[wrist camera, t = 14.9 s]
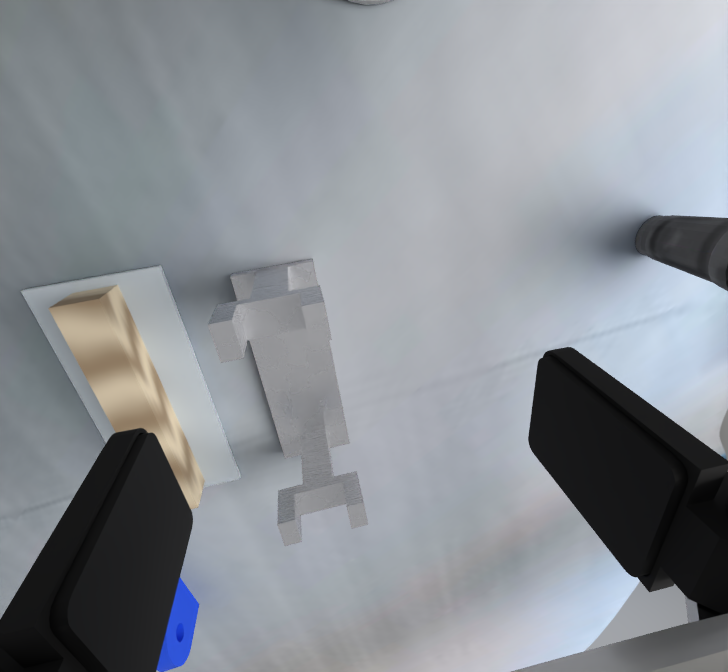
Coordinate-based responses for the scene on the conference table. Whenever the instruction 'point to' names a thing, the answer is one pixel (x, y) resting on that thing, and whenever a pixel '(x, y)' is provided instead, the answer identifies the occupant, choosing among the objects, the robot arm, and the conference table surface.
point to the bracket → (179, 629)
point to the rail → (125, 376)
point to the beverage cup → (688, 245)
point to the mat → (166, 351)
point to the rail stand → (293, 382)
